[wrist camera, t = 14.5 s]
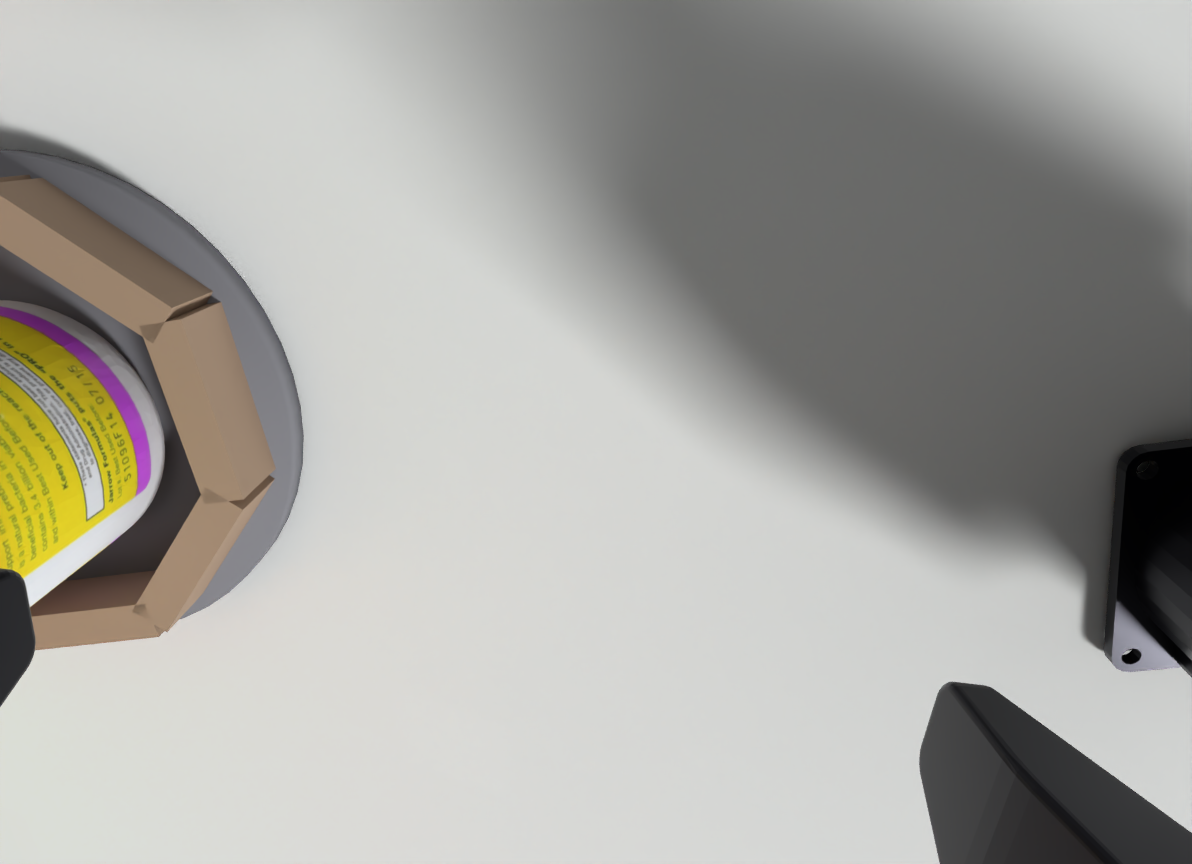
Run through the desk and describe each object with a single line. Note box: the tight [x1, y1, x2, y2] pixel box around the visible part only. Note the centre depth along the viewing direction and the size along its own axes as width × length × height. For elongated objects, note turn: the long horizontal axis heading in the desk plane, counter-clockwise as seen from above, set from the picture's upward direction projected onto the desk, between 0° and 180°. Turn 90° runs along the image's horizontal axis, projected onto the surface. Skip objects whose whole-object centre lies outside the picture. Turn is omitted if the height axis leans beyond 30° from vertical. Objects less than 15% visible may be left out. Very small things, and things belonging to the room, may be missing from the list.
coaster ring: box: [0, 150, 303, 650], centre depth 20 cm, size 13×13×3 cm
